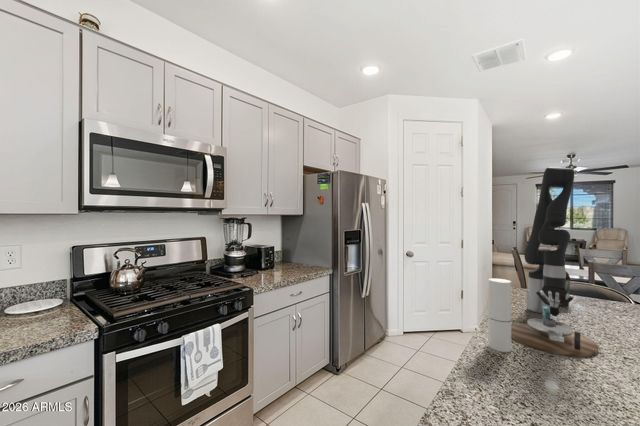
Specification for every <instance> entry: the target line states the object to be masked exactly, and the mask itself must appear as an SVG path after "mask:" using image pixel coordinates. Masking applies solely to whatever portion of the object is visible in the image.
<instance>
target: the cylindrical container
mask: <svg viewBox="0 0 640 426" xmlns="http://www.w3.org/2000/svg"><path fill="white" fill-rule="evenodd" d="M511 324H512V281H511V280H509V279H505V278H493V277H492V278H488V346H489V348H490V349H492V350H495V351H498V352H501V353H502V352H503V353H508V352H509V353H510V352H511V351H512V338H511Z"/></svg>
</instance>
